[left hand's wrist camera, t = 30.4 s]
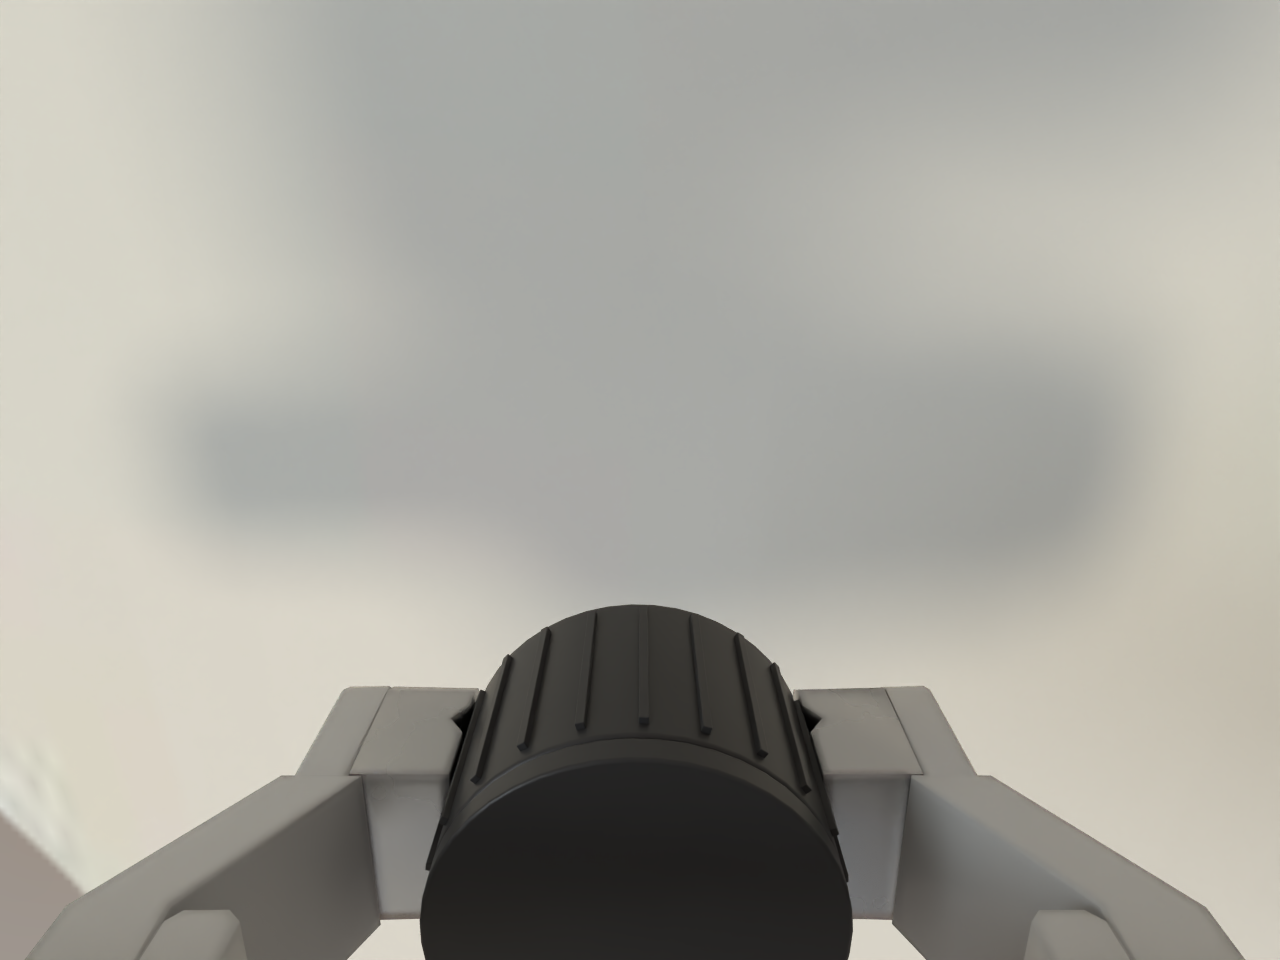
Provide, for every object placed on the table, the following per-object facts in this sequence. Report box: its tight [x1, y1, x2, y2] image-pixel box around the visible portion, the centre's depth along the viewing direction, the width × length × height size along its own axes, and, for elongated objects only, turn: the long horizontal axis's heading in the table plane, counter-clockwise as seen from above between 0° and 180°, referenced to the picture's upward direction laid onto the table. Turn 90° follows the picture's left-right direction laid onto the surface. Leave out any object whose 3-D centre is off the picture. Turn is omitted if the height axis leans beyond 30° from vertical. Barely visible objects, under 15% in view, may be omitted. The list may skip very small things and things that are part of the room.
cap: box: [420, 605, 853, 960], centre depth 9 cm, size 4×4×3 cm
